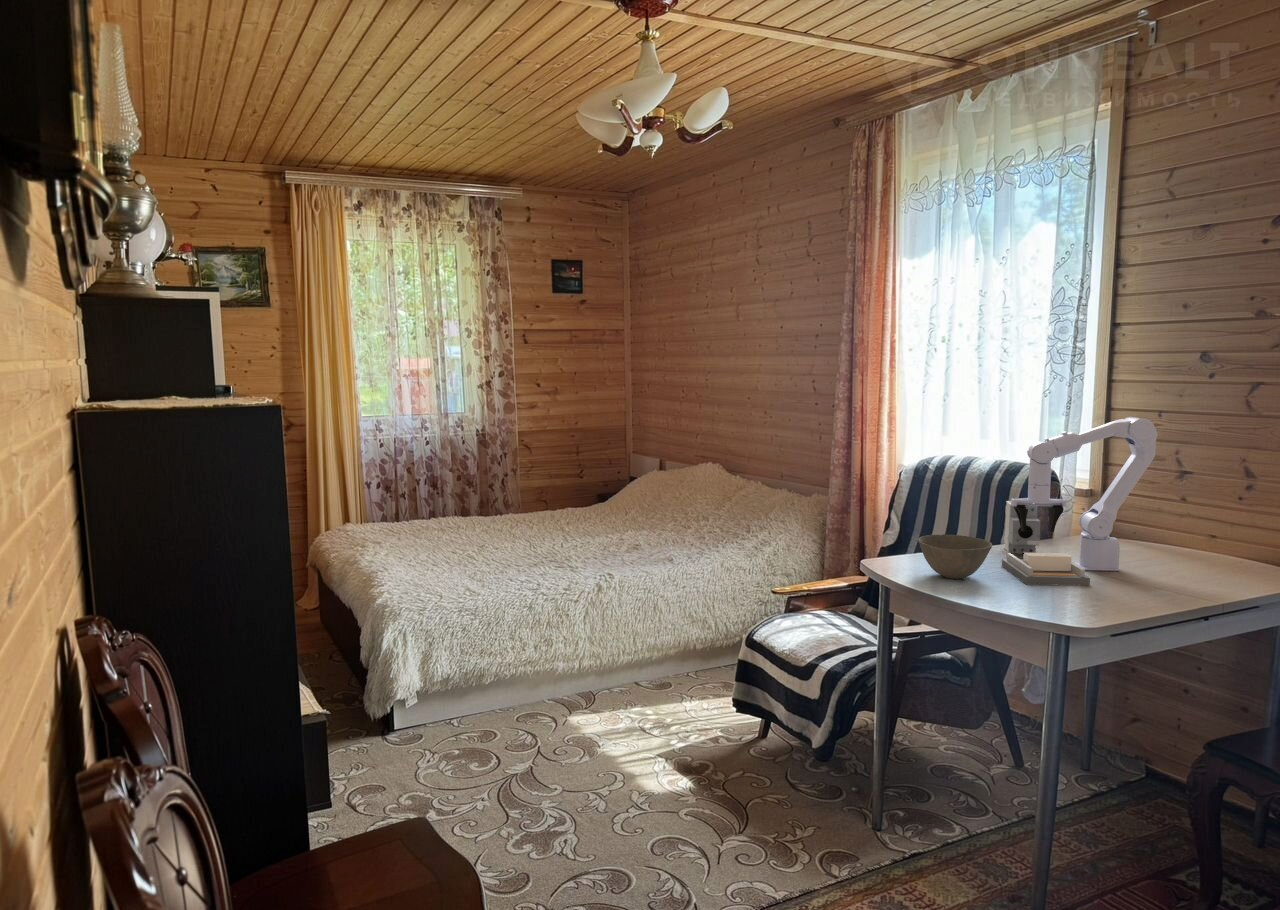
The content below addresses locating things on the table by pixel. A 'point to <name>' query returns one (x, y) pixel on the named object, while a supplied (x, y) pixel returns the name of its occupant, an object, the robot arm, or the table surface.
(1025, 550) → the circuit breaker
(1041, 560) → the breaker toggle
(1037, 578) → the grey shallow rectangular tray
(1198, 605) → the table surface
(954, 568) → the bowl
